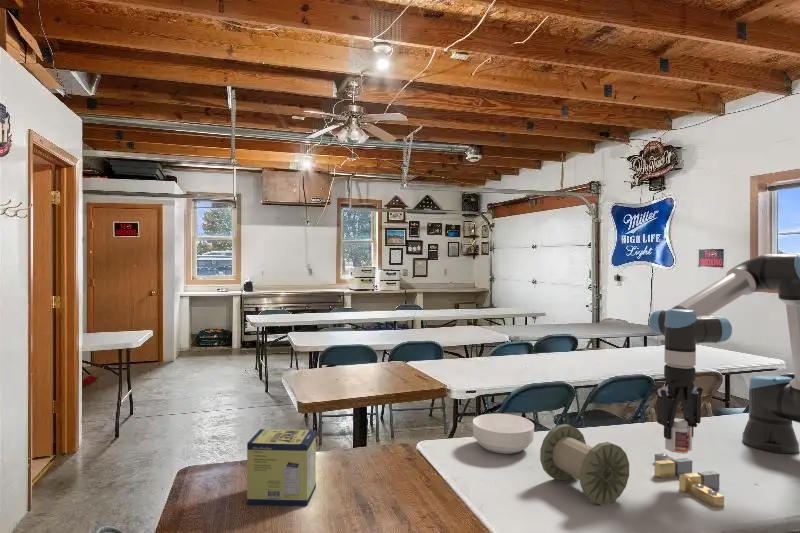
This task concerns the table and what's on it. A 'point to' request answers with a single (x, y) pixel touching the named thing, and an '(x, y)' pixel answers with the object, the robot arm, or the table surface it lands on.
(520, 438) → the bowl
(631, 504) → the table surface
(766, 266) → the robot arm
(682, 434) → the pill bottle
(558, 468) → the spool
